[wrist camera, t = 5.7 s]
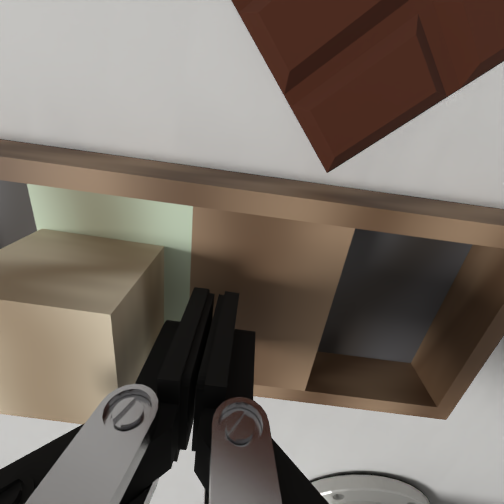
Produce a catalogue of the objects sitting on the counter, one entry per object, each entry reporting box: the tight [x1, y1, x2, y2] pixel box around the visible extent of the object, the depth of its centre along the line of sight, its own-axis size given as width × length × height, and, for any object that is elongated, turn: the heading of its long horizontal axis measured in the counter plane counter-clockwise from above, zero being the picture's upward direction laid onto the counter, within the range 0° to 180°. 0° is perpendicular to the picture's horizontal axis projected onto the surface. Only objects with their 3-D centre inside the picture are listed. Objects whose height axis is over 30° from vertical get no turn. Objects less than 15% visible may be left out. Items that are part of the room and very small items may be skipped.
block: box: [0, 229, 164, 424], centre depth 9 cm, size 4×4×4 cm
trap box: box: [0, 139, 504, 420], centre depth 13 cm, size 26×10×3 cm, turn 83°
